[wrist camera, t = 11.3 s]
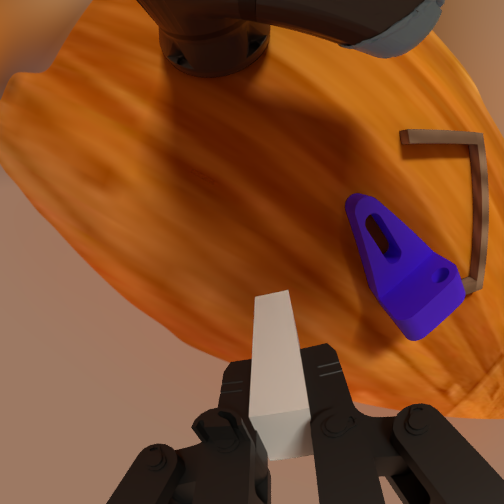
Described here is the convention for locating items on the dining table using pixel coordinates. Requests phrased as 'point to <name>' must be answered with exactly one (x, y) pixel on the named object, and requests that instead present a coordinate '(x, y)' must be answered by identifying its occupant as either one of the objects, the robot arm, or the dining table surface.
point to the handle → (479, 192)
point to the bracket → (404, 270)
